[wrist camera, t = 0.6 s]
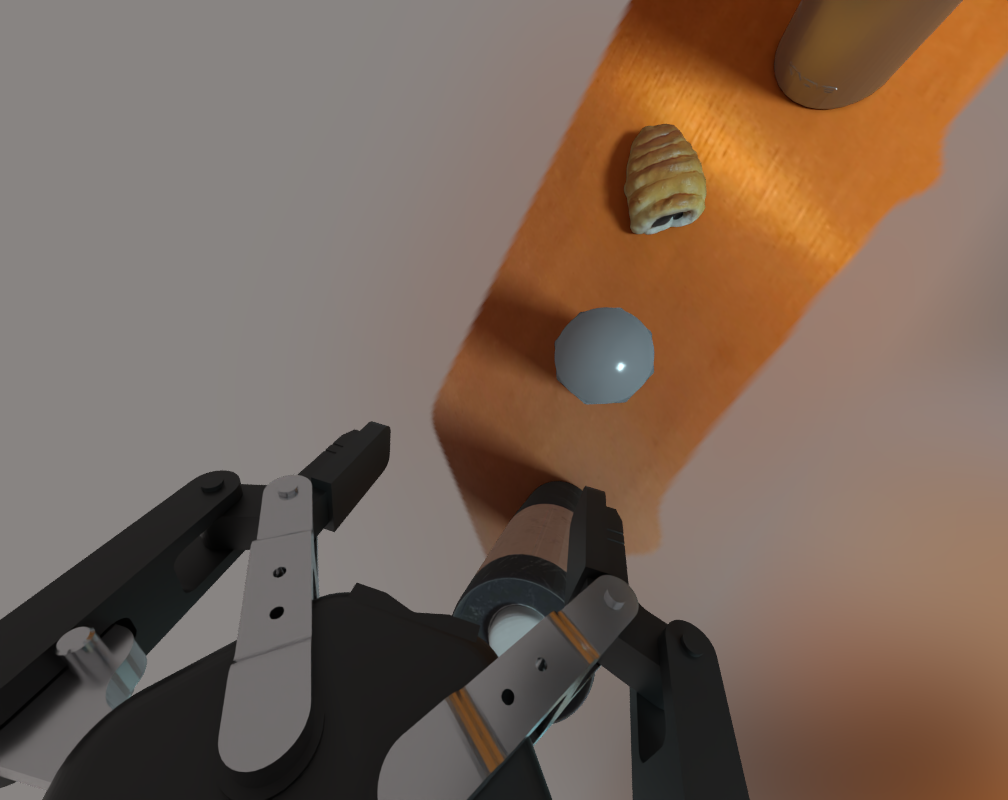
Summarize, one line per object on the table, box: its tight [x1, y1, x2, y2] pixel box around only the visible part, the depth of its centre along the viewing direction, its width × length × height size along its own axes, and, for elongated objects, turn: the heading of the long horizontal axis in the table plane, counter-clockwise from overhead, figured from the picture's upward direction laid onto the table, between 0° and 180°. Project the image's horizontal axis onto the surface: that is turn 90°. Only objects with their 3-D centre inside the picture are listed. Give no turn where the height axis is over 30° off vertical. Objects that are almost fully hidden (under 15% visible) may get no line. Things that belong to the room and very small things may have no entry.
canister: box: [555, 308, 654, 404], centre depth 30 cm, size 6×6×12 cm
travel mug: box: [452, 481, 595, 724], centre depth 27 cm, size 8×8×20 cm
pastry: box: [624, 124, 706, 234], centre depth 32 cm, size 9×7×4 cm
